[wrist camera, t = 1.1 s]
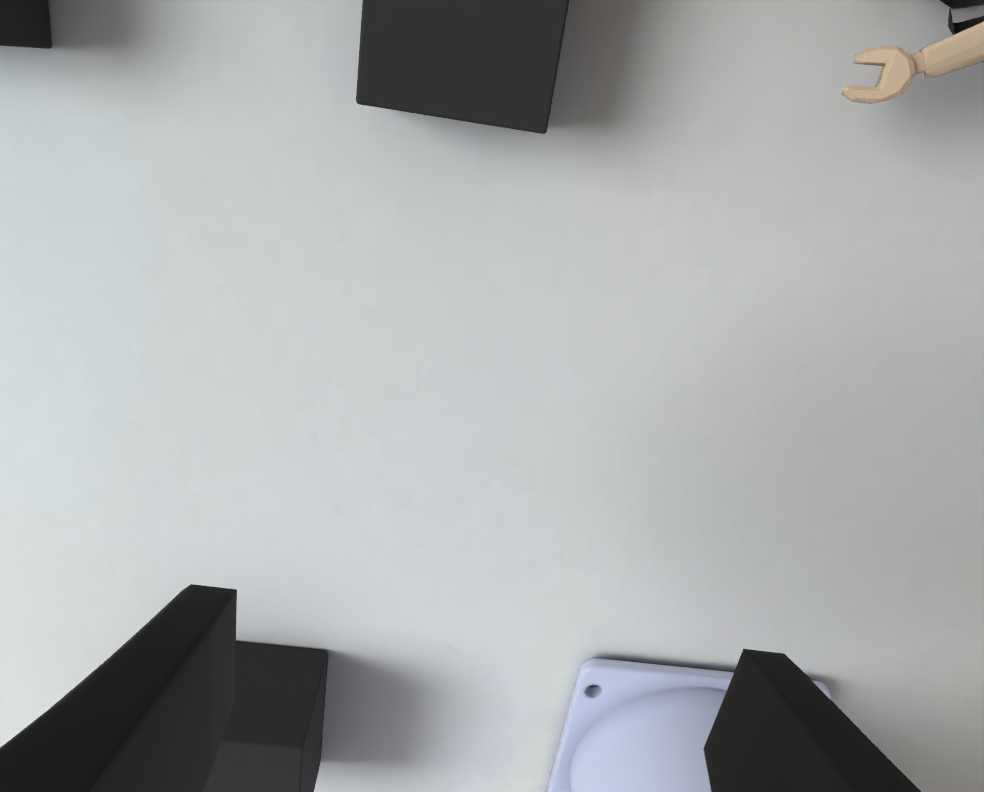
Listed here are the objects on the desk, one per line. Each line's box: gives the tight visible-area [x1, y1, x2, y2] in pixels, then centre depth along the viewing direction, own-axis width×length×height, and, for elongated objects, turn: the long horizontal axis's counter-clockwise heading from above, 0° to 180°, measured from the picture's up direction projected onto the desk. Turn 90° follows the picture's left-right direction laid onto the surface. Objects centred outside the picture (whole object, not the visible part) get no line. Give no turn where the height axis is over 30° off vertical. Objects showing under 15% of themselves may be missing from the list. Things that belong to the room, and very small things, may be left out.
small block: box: [203, 642, 328, 792], centre depth 21 cm, size 5×5×4 cm
